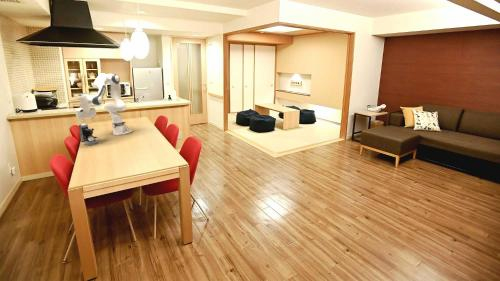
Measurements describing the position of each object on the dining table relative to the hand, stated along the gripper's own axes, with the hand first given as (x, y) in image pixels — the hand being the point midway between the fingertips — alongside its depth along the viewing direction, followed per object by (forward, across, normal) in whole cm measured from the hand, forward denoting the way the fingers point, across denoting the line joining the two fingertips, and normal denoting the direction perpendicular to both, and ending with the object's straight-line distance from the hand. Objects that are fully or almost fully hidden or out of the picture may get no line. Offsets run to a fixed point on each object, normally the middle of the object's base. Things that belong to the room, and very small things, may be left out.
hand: (87, 121), depth 287 cm
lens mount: (+24, +3, +5) cm, 25 cm away
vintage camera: (+24, -3, -9) cm, 26 cm away
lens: (+23, +3, +5) cm, 24 cm away
